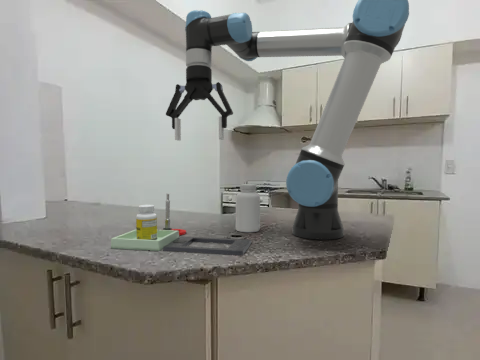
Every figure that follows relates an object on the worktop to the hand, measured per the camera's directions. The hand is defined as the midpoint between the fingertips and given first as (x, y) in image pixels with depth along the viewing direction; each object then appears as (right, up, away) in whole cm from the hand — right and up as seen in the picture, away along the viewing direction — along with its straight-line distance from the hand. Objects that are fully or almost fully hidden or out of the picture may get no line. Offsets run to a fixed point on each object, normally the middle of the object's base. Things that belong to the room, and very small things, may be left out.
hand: (199, 139), depth 96 cm
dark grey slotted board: (+4, -29, -13) cm, 32 cm away
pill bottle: (+15, -29, +8) cm, 33 cm away
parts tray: (-13, -29, -9) cm, 33 cm away
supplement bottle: (-13, -29, -9) cm, 33 cm away
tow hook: (-9, -29, +3) cm, 30 cm away
